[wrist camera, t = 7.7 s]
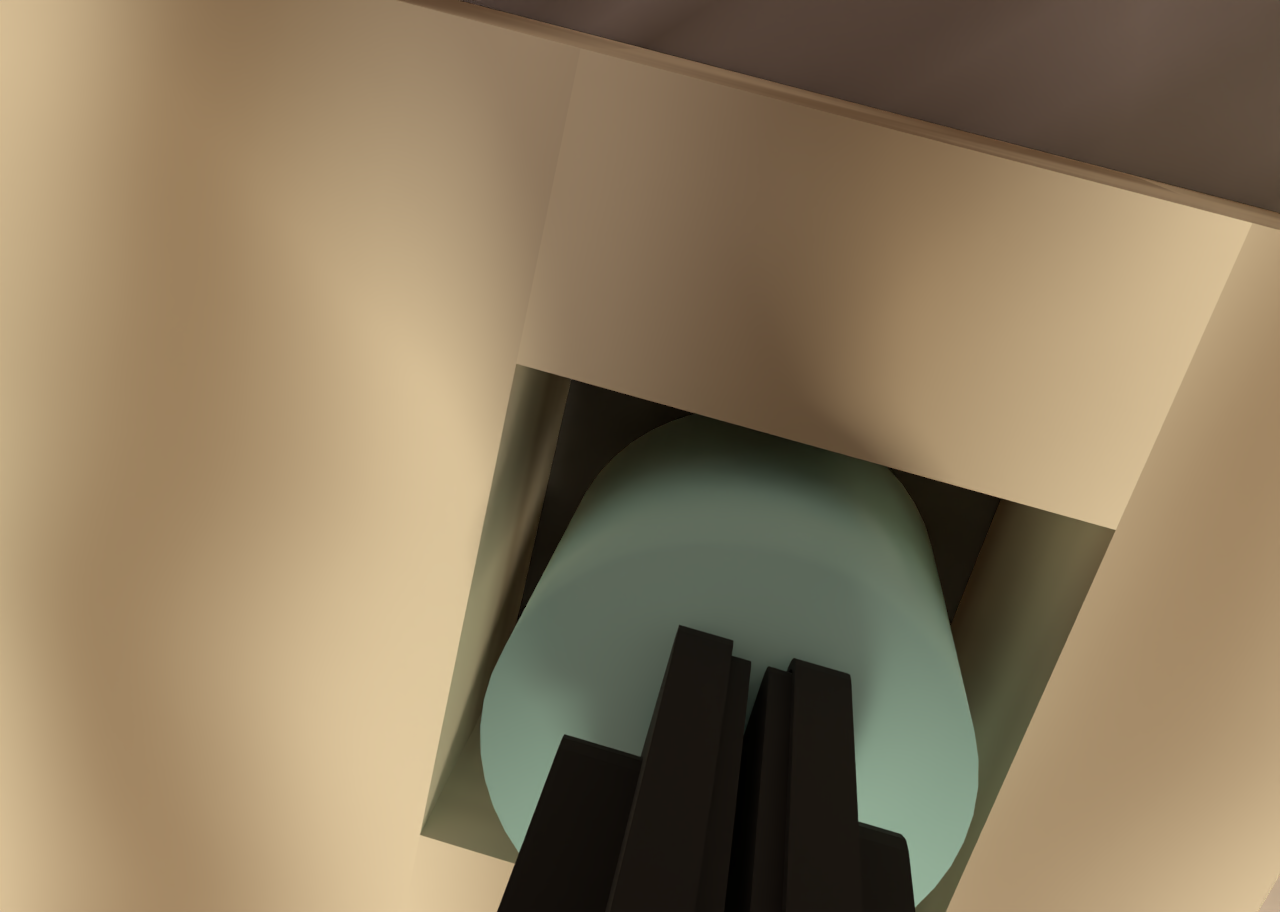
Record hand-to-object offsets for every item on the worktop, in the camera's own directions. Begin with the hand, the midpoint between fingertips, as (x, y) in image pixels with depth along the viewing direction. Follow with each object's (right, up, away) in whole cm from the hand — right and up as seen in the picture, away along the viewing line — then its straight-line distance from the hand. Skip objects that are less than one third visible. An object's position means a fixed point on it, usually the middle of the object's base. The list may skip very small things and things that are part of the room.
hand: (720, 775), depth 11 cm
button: (+1, +1, +4) cm, 4 cm away
